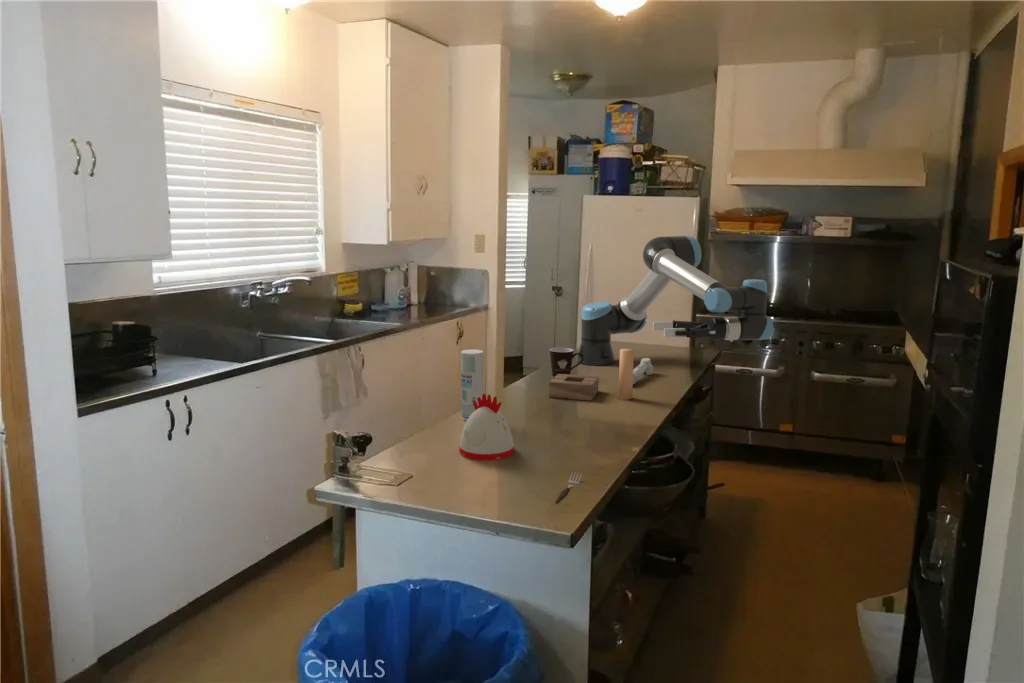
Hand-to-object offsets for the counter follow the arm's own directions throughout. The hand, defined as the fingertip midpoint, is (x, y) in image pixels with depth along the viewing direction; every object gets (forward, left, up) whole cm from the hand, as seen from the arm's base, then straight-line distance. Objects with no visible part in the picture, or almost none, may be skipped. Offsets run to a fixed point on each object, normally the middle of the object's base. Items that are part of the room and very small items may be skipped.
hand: (658, 329), depth 240 cm
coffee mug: (-21, -34, -23) cm, 46 cm away
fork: (+86, -11, -23) cm, 90 cm away
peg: (+3, -9, -23) cm, 25 cm away
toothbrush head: (-25, -9, -23) cm, 35 cm away
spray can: (+39, -49, -23) cm, 67 cm away
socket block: (+3, -26, -23) cm, 35 cm away
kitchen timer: (+66, -36, -23) cm, 79 cm away
